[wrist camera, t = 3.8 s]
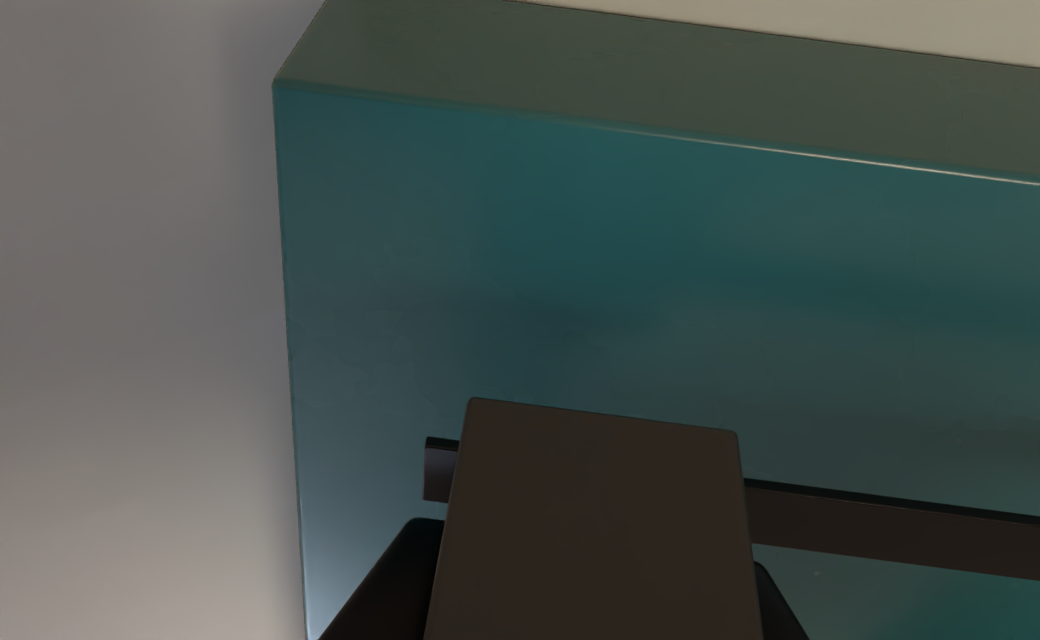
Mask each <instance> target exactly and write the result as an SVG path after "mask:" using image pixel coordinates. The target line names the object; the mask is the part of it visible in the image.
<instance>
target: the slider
mask: <svg viewBox="0 0 1040 640" xmlns="http://www.w3.org/2000/svg"><path fill="white" fill-rule="evenodd" d="M423 640H764V637H763V630H762V622H761V614H760V606H759V598H758V590H757V582H756V575H755V567H754V559H753V551H752V543H751V535H750V527H749V520H748V512H747V504H746V496H745V488H744V480H743V472H742V465H741V457H740V449H739V441H738V436H737V434H736V432H734V431H732V430H726V429H718V428H711V427H703V426H695V425H688V424H680V423H672V422H665V421H657V420H649V419H642V418H634V417H626V416H619V415H611V414H603V413H596V412H588V411H580V410H573V409H565V408H557V407H550V406H542V405H534V404H527V403H519V402H511V401H504V400H496V399H488V398H481V397H472V398H470V400H469V401H468V403H467V405H466V410H465V416H464V421H463V427H462V432H461V437H460V443H459V448H458V453H457V459H456V464H455V470H454V475H453V480H452V486H451V491H450V497H449V502H448V507H447V513H446V518H445V523H444V529H443V534H442V540H441V545H440V550H439V556H438V561H437V567H436V572H435V577H434V583H433V588H432V593H431V599H430V604H429V610H428V615H427V620H426V626H425V631H424V637H423Z"/></svg>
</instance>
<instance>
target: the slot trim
mask: <svg viewBox="0 0 1040 640" xmlns="http://www.w3.org/2000/svg"><path fill="white" fill-rule="evenodd" d="M459 443H460V440H453V439H445V438H438V437H430V436H427V438H426V442H425V446H424V464H423V482H422V500H424V501H432V502H440V503H447V504H448V502H449V497H450V491H451V486H452V480H453V475H454V470H455V464H456V459H457V453H458V448H459ZM743 480H744V488H745V496H746V504H747V512H748V520H749V527H750V535H751V543H753V544H760V545H768V546H776V547H783V548H791V549H798V550H806V551H814V552H821V553H829V554H837V555H844V556H852V557H860V558H867V559H875V560H882V561H890V562H898V563H905V564H913V565H921V566H928V567H936V568H944V569H951V570H959V571H966V572H974V573H982V574H989V575H997V576H1005V577H1012V578H1020V579H1028V580H1035V581H1040V516H1035V515H1027V514H1019V513H1012V512H1004V511H997V510H989V509H981V508H974V507H966V506H958V505H951V504H943V503H935V502H928V501H920V500H912V499H905V498H897V497H889V496H882V495H874V494H866V493H859V492H851V491H843V490H836V489H828V488H820V487H813V486H805V485H798V484H790V483H782V482H775V481H767V480H759V479H752V478H744V477H743Z"/></svg>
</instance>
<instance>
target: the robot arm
mask: <svg viewBox="0 0 1040 640" xmlns="http://www.w3.org/2000/svg"><path fill="white" fill-rule="evenodd" d="M444 523H445V520H438V519H430V518H422V517H414V518H412V519H410V520H409V521H408V522H407V523H406V524H405V525H404V526H403V528H402V529H401V530H400V532H399V533H398V534H397V536H396V537H395V538H394V540H393V541H392V542H391V543H390V545H389V546H388V547H387V549H386V550H385V551H384V553H383V554H382V555H381V557H380V558H379V559H378V561H377V562H376V563H375V565H374V566H373V567H372V569H371V570H370V571H369V573H368V574H367V575H366V577H365V578H364V579H363V581H362V582H361V583H360V585H359V586H358V587H357V589H356V590H355V591H354V593H353V594H352V595H351V597H350V598H349V599H348V601H347V602H346V603H345V604H344V606H343V607H342V608H341V610H340V611H339V612H338V614H337V615H336V616H335V618H334V619H333V620H332V622H331V623H330V624H329V626H328V627H327V628H326V630H325V631H324V632H323V634H322V635H321V636H320V638H319V639H318V640H423V637H424V631H425V626H426V620H427V615H428V610H429V604H430V599H431V593H432V588H433V583H434V577H435V572H436V567H437V561H438V556H439V550H440V545H441V540H442V534H443V529H444ZM754 567H755V575H756V582H757V590H758V598H759V606H760V614H761V622H762V630H763V637H764V640H810V639H809V637H808V635H807V634H806V632H805V631H804V629H803V627H802V626H801V624H800V623H799V621H798V619H797V618H796V616H795V615H794V613H793V611H792V610H791V608H790V606H789V605H788V603H787V602H786V600H785V598H784V597H783V595H782V594H781V592H780V590H779V589H778V587H777V586H776V584H775V582H774V581H773V579H772V577H771V576H770V574H769V573H768V571H767V570H766V568H765V567H764V566H763V565H762V564H760V563H759V562H756V561H754Z"/></svg>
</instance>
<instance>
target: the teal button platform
mask: <svg viewBox="0 0 1040 640" xmlns="http://www.w3.org/2000/svg"><path fill="white" fill-rule="evenodd" d="M272 101H273V117H274V133H275V150H276V166H277V183H278V199H279V215H280V232H281V248H282V264H283V281H284V297H285V313H286V330H287V346H288V362H289V379H290V395H291V412H292V428H293V444H294V461H295V477H296V493H297V510H298V526H299V542H300V559H301V575H302V591H303V608H304V624H305V640H318V639H319V638H320V636H321V635H322V634H323V632H324V631H325V630H326V628H327V627H328V626H329V624H330V623H331V622H332V620H333V619H334V618H335V616H336V615H337V614H338V612H339V611H340V610H341V608H342V607H343V606H344V604H345V603H346V602H347V601H348V599H349V598H350V597H351V595H352V594H353V593H354V591H355V590H356V589H357V587H358V586H359V585H360V583H361V582H362V581H363V579H364V578H365V577H366V575H367V574H368V573H369V571H370V570H371V569H372V567H373V566H374V565H375V563H376V562H377V561H378V559H379V558H380V557H381V555H382V554H383V553H384V551H385V550H386V549H387V547H388V546H389V545H390V543H391V542H392V541H393V540H394V538H395V537H396V536H397V534H398V533H399V532H400V530H401V529H402V528H403V526H404V525H405V524H406V523H407V522H408V521H409V520H410V519H412V518H414V517H422V518H430V519H438V520H445V518H446V513H447V507H448V504H447V503H440V502H432V501H424V500H422V482H423V464H424V446H425V442H426V438H427V436H430V437H438V438H445V439H453V440H460V437H461V432H462V427H463V421H464V416H465V410H466V405H467V403H468V401H469V400H470V398H472V397H481V398H488V399H496V400H504V401H511V402H519V403H527V404H534V405H542V406H550V407H557V408H565V409H573V410H580V411H588V412H596V413H603V414H611V415H619V416H626V417H634V418H642V419H649V420H657V421H665V422H672V423H680V424H688V425H695V426H703V427H711V428H718V429H726V430H732V431H734V432H736V434H737V436H738V441H739V449H740V457H741V465H742V472H743V477H744V478H752V479H759V480H767V481H775V482H782V483H790V484H798V485H805V486H813V487H820V488H828V489H836V490H843V491H851V492H859V493H866V494H874V495H882V496H889V497H897V498H905V499H912V500H920V501H928V502H935V503H943V504H951V505H958V506H966V507H974V508H981V509H989V510H997V511H1004V512H1012V513H1019V514H1027V515H1035V516H1040V69H1034V68H1026V67H1018V66H1011V65H1003V64H995V63H987V62H979V61H972V60H964V59H956V58H948V57H940V56H933V55H925V54H917V53H909V52H901V51H894V50H886V49H878V48H870V47H862V46H855V45H847V44H839V43H831V42H824V41H816V40H808V39H800V38H792V37H785V36H777V35H769V34H761V33H753V32H746V31H738V30H730V29H722V28H714V27H707V26H699V25H691V24H683V23H675V22H668V21H660V20H652V19H644V18H636V17H629V16H621V15H613V14H605V13H597V12H590V11H582V10H574V9H566V8H558V7H551V6H543V5H535V4H527V3H519V2H512V1H504V0H326V1H325V2H324V4H323V5H322V7H321V8H320V10H319V11H318V13H317V14H316V16H315V17H314V19H313V20H312V22H311V23H310V25H309V26H308V28H307V29H306V31H305V32H304V34H303V35H302V37H301V38H300V40H299V41H298V43H297V44H296V46H295V47H294V49H293V50H292V52H291V53H290V55H289V56H288V58H287V59H286V61H285V62H284V64H283V65H282V67H281V68H280V70H279V71H278V73H277V74H276V76H275V77H274V79H273V82H272ZM752 551H753V559H754V561H756V562H759V563H760V564H762V565H763V566H764V567H765V568H766V570H767V571H768V573H769V574H770V576H771V577H772V579H773V581H774V582H775V584H776V586H777V587H778V589H779V590H780V592H781V594H782V595H783V597H784V598H785V600H786V602H787V603H788V605H789V606H790V608H791V610H792V611H793V613H794V615H795V616H796V618H797V619H798V621H799V623H800V624H801V626H802V627H803V629H804V631H805V632H806V634H807V635H808V637H809V639H810V640H1040V581H1035V580H1028V579H1020V578H1012V577H1005V576H997V575H989V574H982V573H974V572H966V571H959V570H951V569H944V568H936V567H928V566H921V565H913V564H905V563H898V562H890V561H882V560H875V559H867V558H860V557H852V556H844V555H837V554H829V553H821V552H814V551H806V550H798V549H791V548H783V547H776V546H768V545H760V544H753V543H752Z"/></svg>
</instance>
